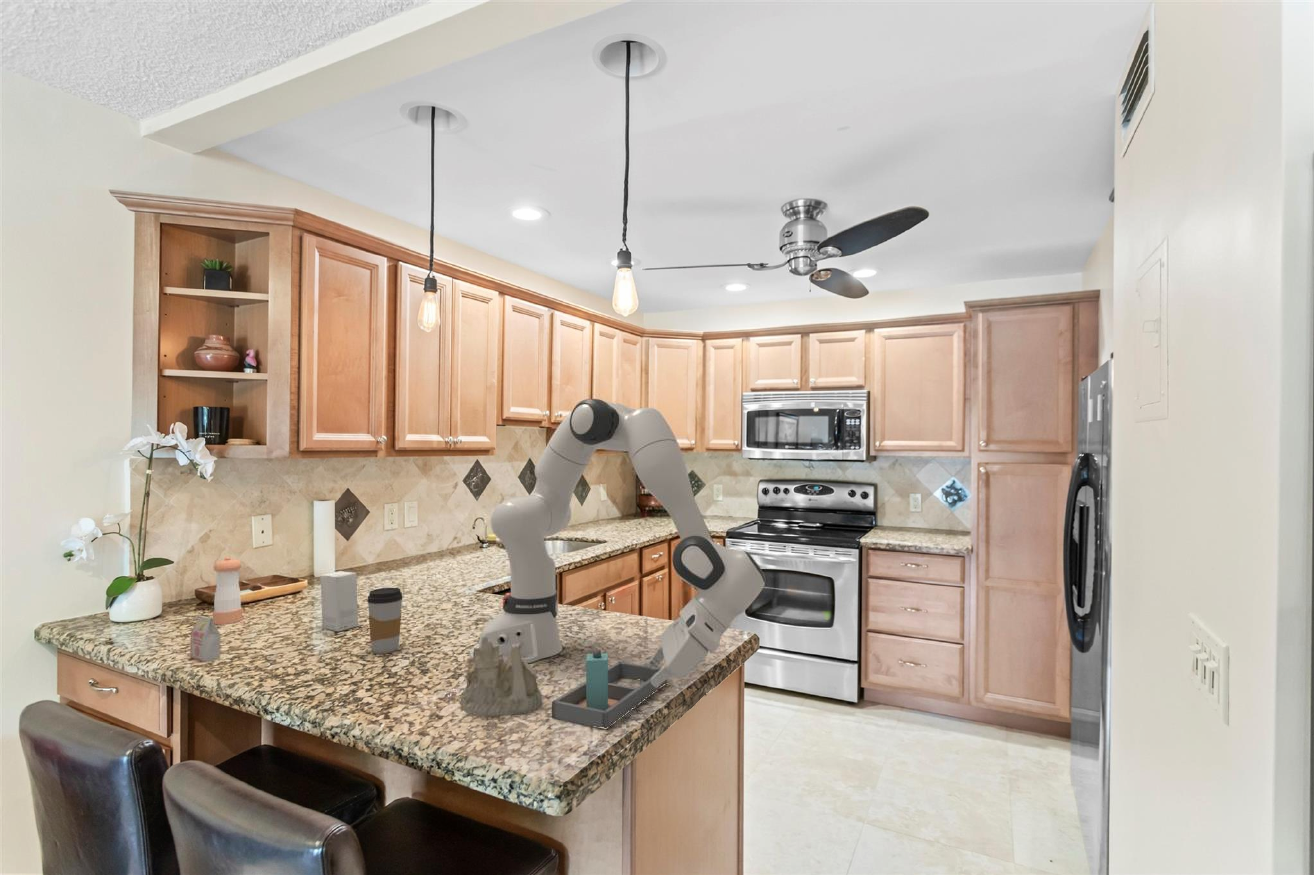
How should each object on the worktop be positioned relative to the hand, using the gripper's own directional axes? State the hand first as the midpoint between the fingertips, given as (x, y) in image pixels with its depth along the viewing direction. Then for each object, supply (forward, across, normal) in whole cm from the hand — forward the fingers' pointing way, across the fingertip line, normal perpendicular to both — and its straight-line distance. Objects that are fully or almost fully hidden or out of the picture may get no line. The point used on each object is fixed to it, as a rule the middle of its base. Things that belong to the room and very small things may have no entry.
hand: (651, 674), depth 124 cm
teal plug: (+12, 0, -3) cm, 12 cm away
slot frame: (+10, -5, -1) cm, 11 cm away
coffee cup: (+51, -42, -42) cm, 78 cm away
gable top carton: (+81, -39, -72) cm, 116 cm away
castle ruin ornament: (+26, -7, -16) cm, 31 cm away
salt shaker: (+92, -74, -84) cm, 145 cm away
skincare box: (+66, -64, -57) cm, 108 cm away
